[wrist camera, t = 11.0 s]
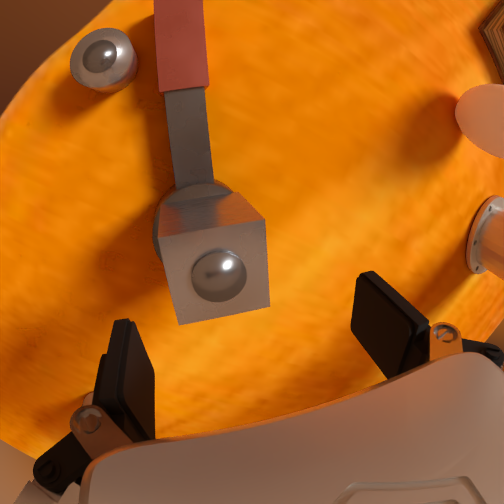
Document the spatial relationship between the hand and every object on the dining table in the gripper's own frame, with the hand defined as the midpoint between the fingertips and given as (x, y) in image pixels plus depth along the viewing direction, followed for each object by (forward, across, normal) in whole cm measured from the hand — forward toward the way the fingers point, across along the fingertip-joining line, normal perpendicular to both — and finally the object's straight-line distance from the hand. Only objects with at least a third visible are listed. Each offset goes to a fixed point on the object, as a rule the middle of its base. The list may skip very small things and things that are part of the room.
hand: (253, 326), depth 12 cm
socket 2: (+10, +1, 0) cm, 10 cm away
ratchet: (+13, +1, -7) cm, 15 cm away
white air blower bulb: (+14, -29, -9) cm, 33 cm away
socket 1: (+13, +6, -13) cm, 20 cm away
